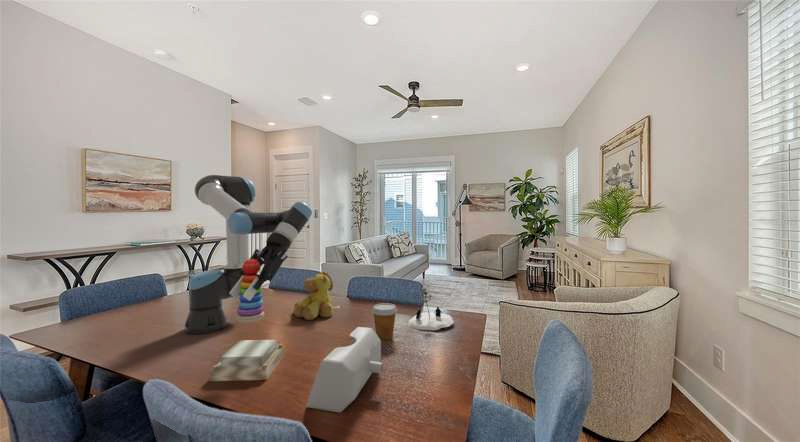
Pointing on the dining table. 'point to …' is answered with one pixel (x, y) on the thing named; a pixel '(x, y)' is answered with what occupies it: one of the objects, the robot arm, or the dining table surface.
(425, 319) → the figurine
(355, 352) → the tank
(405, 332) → the dining table surface
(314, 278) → the giraffe plush
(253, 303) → the stacking toy
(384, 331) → the disposable coffee cup
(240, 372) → the plinth
